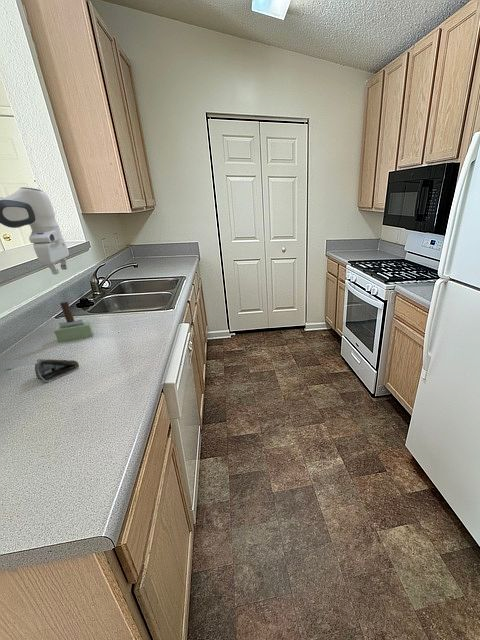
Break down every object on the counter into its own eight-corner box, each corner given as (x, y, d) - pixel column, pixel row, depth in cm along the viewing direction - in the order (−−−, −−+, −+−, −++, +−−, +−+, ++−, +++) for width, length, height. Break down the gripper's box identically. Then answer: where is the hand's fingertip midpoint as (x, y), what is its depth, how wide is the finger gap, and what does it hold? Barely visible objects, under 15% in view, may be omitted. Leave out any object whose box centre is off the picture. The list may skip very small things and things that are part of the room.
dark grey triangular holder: (70, 363, 117) (32, 350, 108) (81, 362, 114) (42, 348, 104) (60, 389, 114) (19, 378, 105) (70, 389, 110) (29, 377, 101)
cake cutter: (64, 340, 133) (51, 304, 126) (65, 338, 135) (52, 302, 128) (87, 336, 136) (75, 301, 130) (87, 334, 138) (75, 299, 132)
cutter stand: (59, 344, 132) (53, 330, 129) (60, 340, 136) (55, 326, 133) (93, 338, 137) (89, 325, 134) (93, 334, 141) (89, 321, 138)
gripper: (49, 232, 135) (61, 267, 141) (26, 238, 118) (41, 277, 124) (66, 232, 137) (77, 266, 143) (46, 237, 119) (60, 276, 125)
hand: (60, 271), depth 133 cm, fingers open, 8 cm apart
